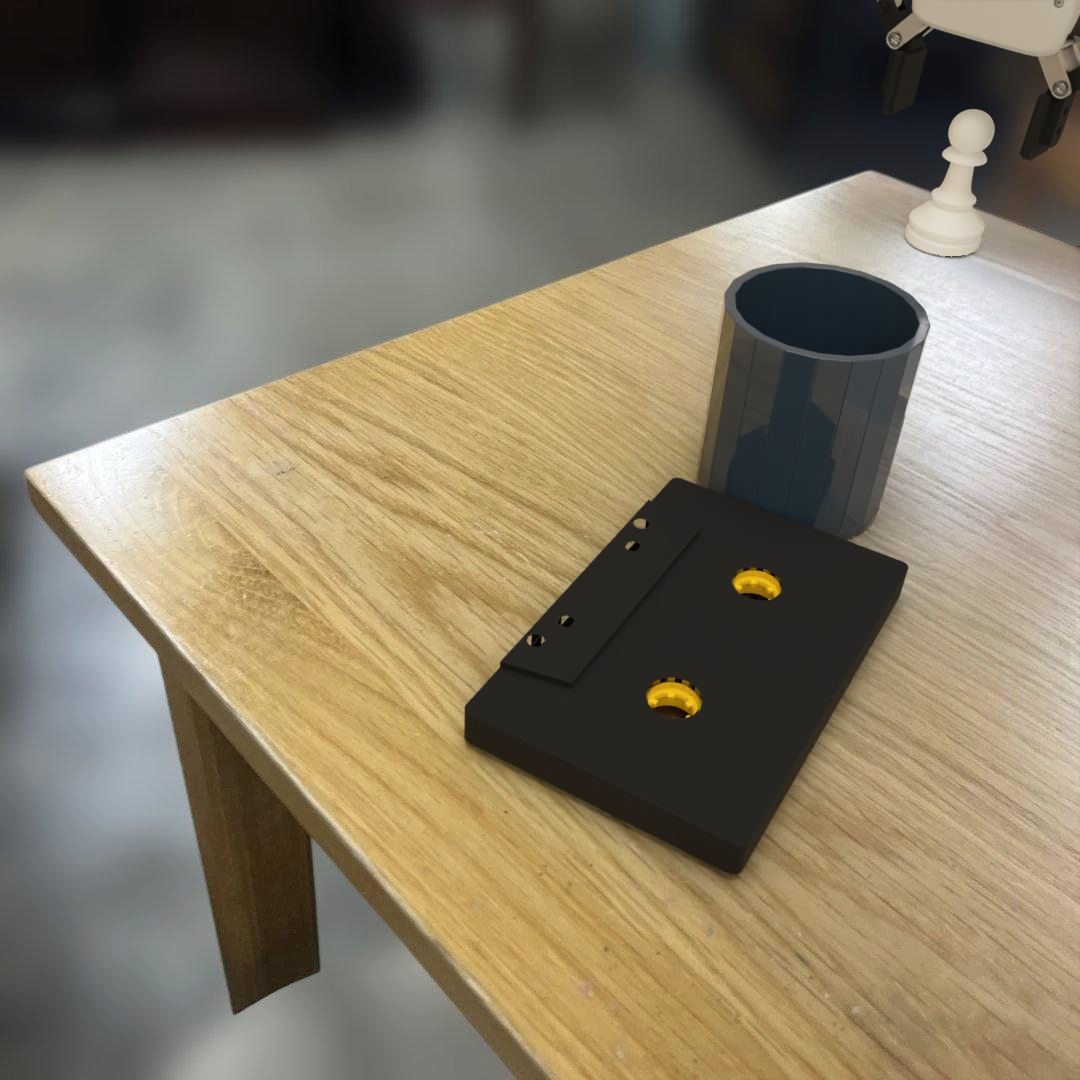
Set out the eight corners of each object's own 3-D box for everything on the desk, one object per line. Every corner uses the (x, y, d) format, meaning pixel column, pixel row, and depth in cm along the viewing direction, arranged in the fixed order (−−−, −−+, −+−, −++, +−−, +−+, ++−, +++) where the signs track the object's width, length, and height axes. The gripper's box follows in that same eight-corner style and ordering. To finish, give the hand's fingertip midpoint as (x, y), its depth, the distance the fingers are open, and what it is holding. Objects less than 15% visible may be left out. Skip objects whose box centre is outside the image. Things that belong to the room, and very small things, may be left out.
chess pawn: (894, 245, 83) (927, 113, 77) (916, 219, 86) (949, 91, 81) (968, 265, 81) (1006, 131, 76) (987, 238, 85) (1025, 108, 79)
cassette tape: (669, 507, 59) (675, 470, 58) (900, 596, 55) (912, 559, 53) (460, 743, 47) (460, 704, 45) (736, 883, 42) (746, 844, 41)
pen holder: (761, 417, 66) (794, 244, 59) (912, 489, 61) (965, 310, 55) (659, 488, 60) (684, 306, 54) (817, 572, 56) (864, 384, 49)
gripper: (1230, -148, 66) (1115, 158, 77) (941, -202, 75) (874, 81, 86) (1183, -134, 62) (1067, 189, 73) (881, -193, 70) (818, 105, 81)
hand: (963, 131), depth 79 cm, fingers open, 9 cm apart
